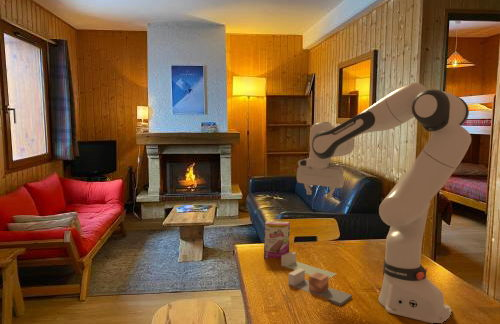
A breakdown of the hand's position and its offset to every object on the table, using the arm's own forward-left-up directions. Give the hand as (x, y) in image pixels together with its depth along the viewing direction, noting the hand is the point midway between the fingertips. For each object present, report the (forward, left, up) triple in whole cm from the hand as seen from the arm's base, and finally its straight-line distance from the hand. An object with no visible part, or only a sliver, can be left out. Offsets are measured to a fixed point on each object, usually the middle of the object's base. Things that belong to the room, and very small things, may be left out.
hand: (319, 196), depth 159 cm
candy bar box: (+20, +2, -31) cm, 37 cm away
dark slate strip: (-12, +19, -30) cm, 38 cm away
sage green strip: (+1, +6, -30) cm, 31 cm away
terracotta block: (-12, +19, -30) cm, 37 cm away
